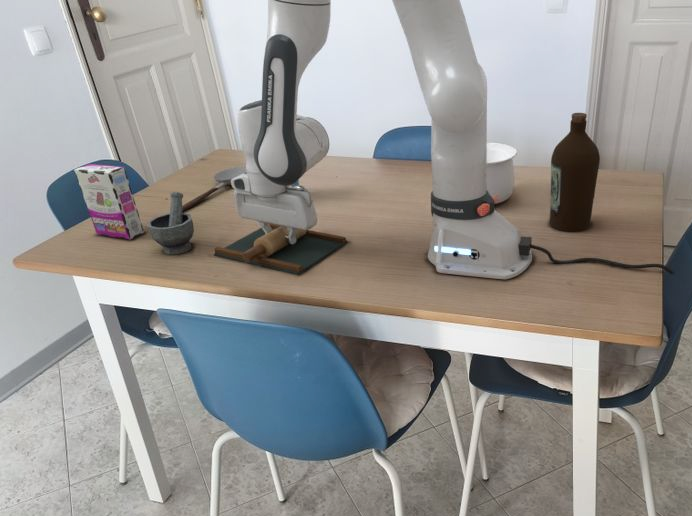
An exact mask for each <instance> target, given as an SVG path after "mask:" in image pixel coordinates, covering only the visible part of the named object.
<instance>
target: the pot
mask: <svg viewBox="0 0 692 516" xmlns="http://www.w3.org/2000/svg"><path fill="white" fill-rule="evenodd" d="M517 155H518V152H517V149H516V148H515V147H513V146H511V145H508V144H506V143H505V144H504V143H500V142H489V141H487V177H486V189H487V191H488V193H489V194H490V196H491V197H492V198H494V197H495V196H496V195H498V197H497V199H498V200H497V201H496V202H495V203H494V205H496V204H500V203H503V202H505V201H507V200H509V198H510V197H511V196H512V195H513V191H514V188H515V168H514V160H513V159H515V157H516V156H517Z"/></svg>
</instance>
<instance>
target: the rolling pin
mask: <svg viewBox="0 0 692 516" xmlns="http://www.w3.org/2000/svg"><path fill="white" fill-rule="evenodd" d="M306 231H307V230H303V229H298V230H297V233H296V240H297V239H299V238H301V237H302V236H304V235H305V234H306ZM289 232H290V231H288V230H287V226H282V225H281V226H280V227H278V228H276V229H274V230H272V231H271V232H269V233H267V234H265V235H263V236H262V237H260V238H258V239H256V240H255V241H254V247H253V248H251V249H249V250H248V251H246V252H244V253H243V254H242V258H243V260H244V261H245V262H250V261H252V260H253V259H255V258H257V257H258V256H261V257H266V258H267V257H269V256H270V255H272V254H274V253H275V252H277V251H279V250H280V249H282V248H284V247H285V246H287V245H289V244H288V243H286V238H285V237H286V236H287V235H289ZM245 262H244V263H245Z"/></svg>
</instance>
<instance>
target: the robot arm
mask: <svg viewBox="0 0 692 516" xmlns="http://www.w3.org/2000/svg"><path fill="white" fill-rule="evenodd" d="M391 1H392V4H393V6H394V10H395V12H396V14H397V17H398V21H399V23H400V25H401V28H402V31H403V33H404V36H405V39H406V42H407V45H408V48H409V52H410V56H411V60H412V63H413V66H414V70H415V73H416V77H417V80H418V83H419V86H420V90H421V93H422V96H423V99H424V102H425V105H426V108H427V111H428V114H429V116H430V119H431V124H430V125H431V126H430V127H431V128H430V129H431V131H430V132H431V133H430V137H431V138H430V140H431V142H430V143H431V144H430V162H431V163H430V164H431V182H432V184H431V187H432V188H431V189H432V190H431V192H430V212H431V216H432V225H431V226H432V229H431V235H430V236H431V237H430V244H429V248H428V252H427V259H428V261H429V262H430V263H431V264H433V265H434V266H435V270H436V272H438V273H439V274H448V275H457V276H465V277H476V278H478V277H479V278H485V279H486V278H487V279H495V280H510V279H512V278H515V277H517V276H519V275H521V274H522V273H523V272H524V271H526V269H528V267H529V266H530V265H531V263H532V261H533V253H532V249H533V250H537V251H540V252H542V253H544V254H545V255H547V257H548V259H549V261H550V262H551V263H553V264H556V265H567V264H578V263H582V262H595V263H601V264H607V265H611V266H615V267H620V268H624V269H635V270H637V269H649V268H658V269H662V270H665V271H666V272H668V273H669V274H670V275H675V272H674V270H673V269H672V268H670V267H669V266H668V265H665V264H662V263H644V264H643V263H642V264H629V263H623V262H618V261H613V260H609V259H604V258H599V257H598V258H597V257H581V258H575V259H571V260H558V259H555V258H554V257H553V255H552V253H551V252H550V251H549V250H548V249H546V248H545V247H541V246H538V245H535V244H532V239H533V238H532V236H521V233H520V231H519V229H518V227H516V226H515V225H513V224H512V223H511V222H510V221H509V220H507V218H505V217H504V216H503V215H502V214H501V213H499V212H498V210H496V208H495V205H496V204H494V203H495V202H496V201H497V200H498V199H497V197H498V195H496V196H495V197H494V198H492V197H491V196H490V194H489V193H488V191H487V189H486V177H487V142H488V135H487V134H488V118H487V117H488V81H487V80H488V79H487V76H486V72H485V71H484V68H483V67H482V65H481V64H480V63H479V62H478V59H477V55H476V52H475V47H474V45H473V42H472V37H471V34H470V30H469V27H468V23H467V20H466V16H465V13H464V10H463V9H464V8H463V7H462V3H461V0H391ZM331 2H332V1H331V0H267V17H268V18H267V32H266V33H267V35H266V42H265V49H264V56H263V64H262V81H261V83H262V85H261V86H262V87H261V99H260V100H256V101H254V102H250V103H247V104H245V105H243V106H241V108H239V110H238V112H237V129H238V136H239V141H240V146H241V151H242V152H243V154H244V157H245V161H246V162H245V167H246V171H247V172H246V173H244V174H241V175H239V176H237V177H235V178H233V179H232V180H231V185H230V186H231V187H232V188H233V189H234V190H233V201H234V205H235V208H236V209H235V210H236V212H237V214H238V215H239V217H240V218H242V219H246V220H252V221H256V222H257V221H258V224H259V227H260V228H262V229H263V231H264V232H265V234H267V233H269V232H271V231H272V228H271V226H270V224H269V223H272V224H277V225H282V226H287V230H288V231H290V232H289V235H287V236H286V237H285V238H286V243H288V244H294V243H296V233H297V230H298V229H303V230H311V229H312V228H313V227H315V226H316V225H317V223H318V216H317V211H316V207H315V204H314V200H313V198H312V194H311V192H310V191H309V190H308V189H307V188H306V187H305V186H304V185H302V184H301V185H300V184H299V185H294V183H295V182H297V181H300V179H301V178H302V177H303V176H304V175H305V173H307V172H308V171H310V170H311V169H312V168H314V167H315V166H316V165H317V164H319V163H321V161H322V160H323V159H325V157H326V156H327V155H328V153H329V151H330V139H329V135H328V132H327V131H326V128H325V127H324V125H323V124H322V123H321V122H319V121H318V120H317V119H315V118H313V117H309V116H303V115H299V114H298V113H297V112H298V99H299V98H298V95H299V86H300V82H301V79H302V76H303V74H304V72H305V71H306V69H307V68H308V66H309V64H310V63H311V62H312V61H313V59H314V58H315V57H316V55H317V54H318V53H319V52H320V51H321V50H322V49H323V48H324V46H325V45H326V43H327V40H328V36H329V31H330V27H331V25H330V24H331V16H332V15H331V14H332V12H331V10H332V3H331Z"/></svg>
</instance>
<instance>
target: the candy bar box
mask: <svg viewBox="0 0 692 516" xmlns="http://www.w3.org/2000/svg"><path fill="white" fill-rule="evenodd" d="M73 171H74V173H75V177H76V179H77V182H78V185H79V187H80V190H81V193H82V196H83V200H84V202H85V204H86V207H87V211H88V213H89V216H90V218H91V222H92V224H93V227H94V230H95V234H96V235H97V236H101V237H109V238H116V239H122V240H129V241H131V240H133V239H136V238H138V237H139V236H142V235H143V234H144V233H145V229H144V225H143V224H142V220H141V217H140V214H139V210H138V207H137V204H136V200H135V198H134V193H133V191H132V188H131V185H130V181H129V178H128V175H127V171H126V168H125V167H124V166H117V165H116V166H115V165H106V164H105V165H104V164H94V163H89V164H85V165H83V166H80V167H77V168H75V169H73Z"/></svg>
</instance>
